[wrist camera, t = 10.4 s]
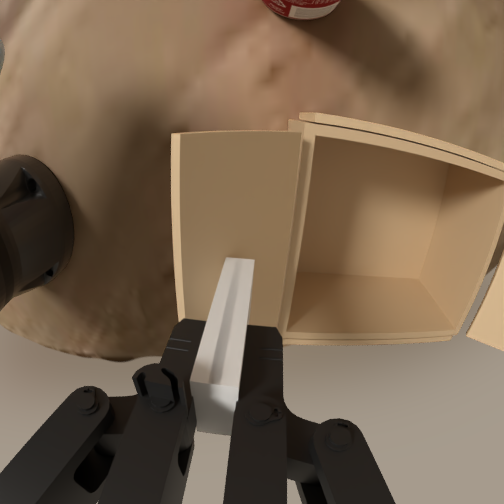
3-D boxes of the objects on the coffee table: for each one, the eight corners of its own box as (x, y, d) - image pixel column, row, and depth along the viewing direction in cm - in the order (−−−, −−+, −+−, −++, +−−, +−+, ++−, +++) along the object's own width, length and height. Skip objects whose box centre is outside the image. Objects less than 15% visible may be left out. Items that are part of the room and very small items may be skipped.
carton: (271, 278, 29) (275, 344, 20) (289, 111, 22) (305, 111, 14) (416, 286, 29) (453, 340, 21) (453, 146, 22) (516, 168, 14)
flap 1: (180, 134, 9) (171, 133, 9) (194, 400, 14) (188, 394, 15) (301, 132, 13) (292, 131, 14) (274, 340, 19) (268, 336, 19)
